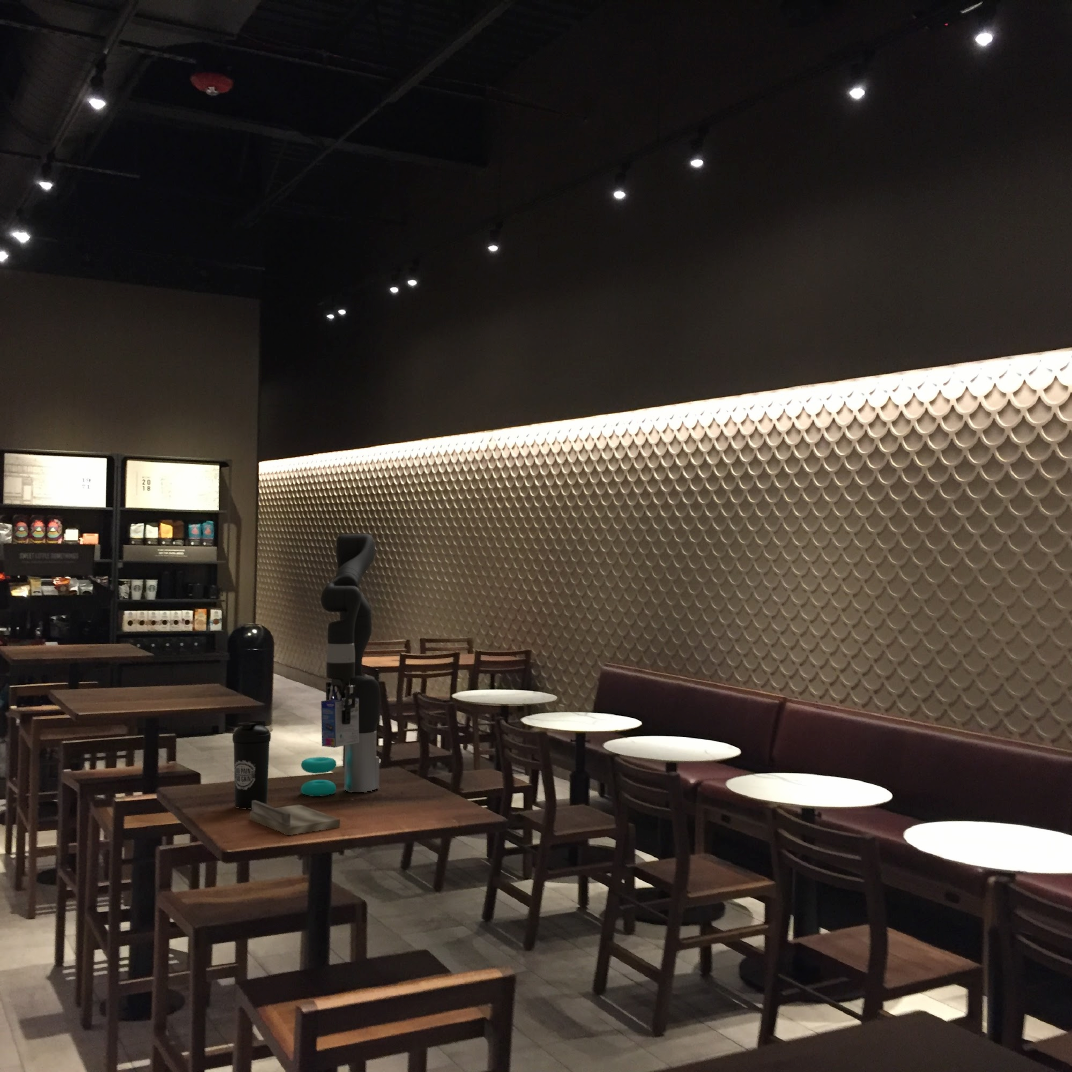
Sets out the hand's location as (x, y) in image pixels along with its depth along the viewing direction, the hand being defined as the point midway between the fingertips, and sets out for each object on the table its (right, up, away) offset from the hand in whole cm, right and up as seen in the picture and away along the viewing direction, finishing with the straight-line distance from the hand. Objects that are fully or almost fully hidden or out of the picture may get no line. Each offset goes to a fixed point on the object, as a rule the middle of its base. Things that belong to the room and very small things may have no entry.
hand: (340, 722), depth 286 cm
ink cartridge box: (0, -6, 0) cm, 6 cm away
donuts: (-10, -25, +23) cm, 36 cm away
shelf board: (-9, -23, -13) cm, 28 cm away
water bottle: (-26, -24, +7) cm, 36 cm away
